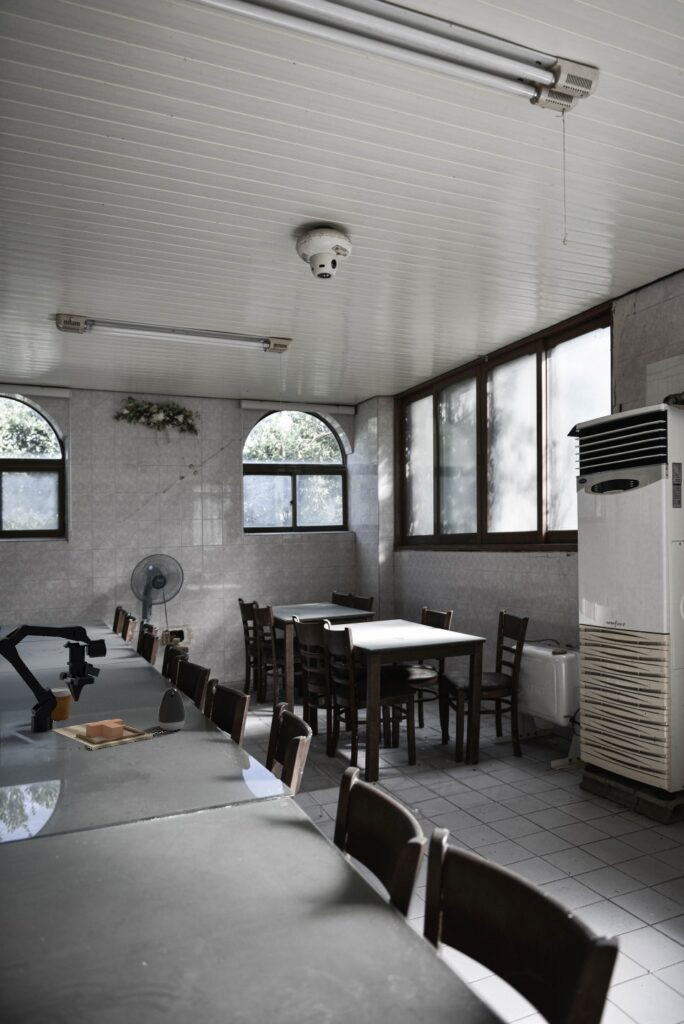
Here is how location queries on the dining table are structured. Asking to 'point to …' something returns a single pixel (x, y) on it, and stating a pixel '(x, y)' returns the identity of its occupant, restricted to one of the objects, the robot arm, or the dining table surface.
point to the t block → (105, 729)
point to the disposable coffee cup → (61, 703)
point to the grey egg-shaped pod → (171, 710)
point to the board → (101, 741)
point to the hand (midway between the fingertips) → (76, 701)
